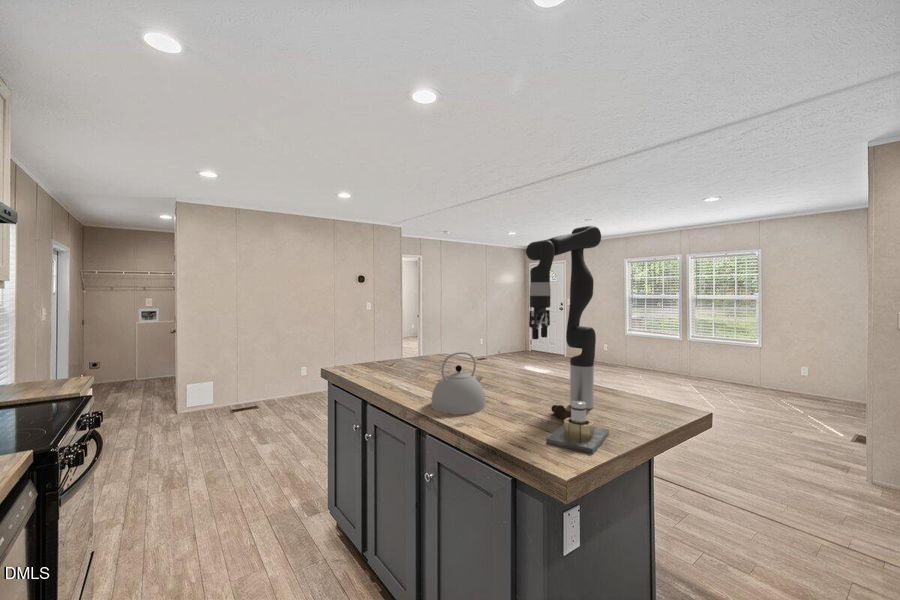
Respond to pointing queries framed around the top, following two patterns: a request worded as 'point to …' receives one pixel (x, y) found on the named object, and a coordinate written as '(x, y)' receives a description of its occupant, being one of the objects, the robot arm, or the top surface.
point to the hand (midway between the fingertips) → (539, 338)
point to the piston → (578, 412)
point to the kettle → (459, 392)
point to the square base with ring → (578, 436)
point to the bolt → (560, 412)
